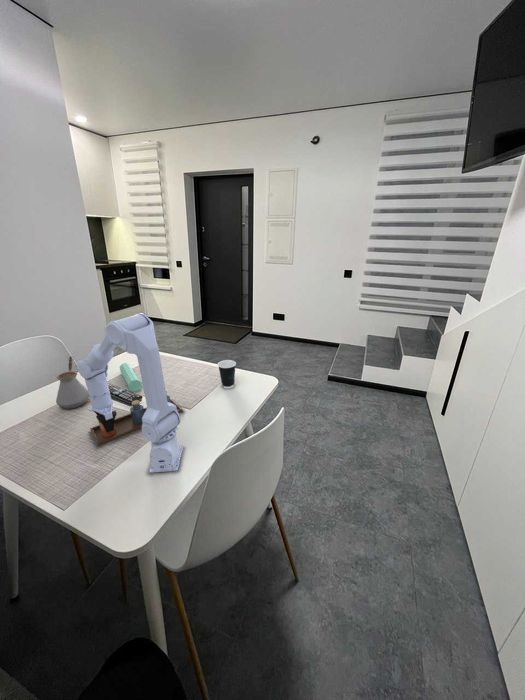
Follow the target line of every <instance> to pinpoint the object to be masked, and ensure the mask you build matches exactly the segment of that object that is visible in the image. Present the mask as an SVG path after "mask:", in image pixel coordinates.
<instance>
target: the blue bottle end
mask: <svg viewBox="0 0 525 700" xmlns="http://www.w3.org/2000/svg"><path fill="white" fill-rule="evenodd" d="M166 396H167V402H170V403H171V401H170V399H171V396H170V395H168V393H167V390H166Z"/></svg>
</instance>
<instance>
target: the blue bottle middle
mask: <svg viewBox="0 0 525 700" xmlns="http://www.w3.org/2000/svg"><path fill="white" fill-rule="evenodd" d="M140 403H141V402H140V400H138V399H135V400H132V401H131V407H130V408H129V411H130V413H131V417H132V422H133V424H135V425H139V424H142V417H143V415H144V408H145V407H144V405H142V404H140Z"/></svg>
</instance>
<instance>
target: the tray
mask: <svg viewBox="0 0 525 700" xmlns="http://www.w3.org/2000/svg"><path fill="white" fill-rule="evenodd" d="M170 401H171V403H172V404H174V405H176V408H177V411H178V413H179V414H182V413H183V412H184V410H183V408H182V407H181V406H180V405H179V404H178V402H176V401H175V400H174V399H173V398H170ZM146 410H147V406H146V407H144V413H145V411H146ZM114 423H115V427H116V433H115V434H114V435H112V436H110V437H103V436H102V433H101V429H100V426H99V424H98V425H95V426H92V427H90V428H89V430H90V432H91V434H92V437H93V439H94V440H95V441H94V442H95V443H96V445H97V447H101V446H103V445H107V444H108V443H111V442H113V441H116V440H119V439H121V438H123V437H126V436H128V435H130V434H133V433H135V432H138V431H140V430H142V424H143V423H142V424H139V425H135V424H133V422H132V417H131V412H130V413H128V414H125V415H122V416H119V417H116V418H115V420H114Z"/></svg>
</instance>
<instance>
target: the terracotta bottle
mask: <svg viewBox="0 0 525 700" xmlns="http://www.w3.org/2000/svg"><path fill="white" fill-rule="evenodd" d="M100 415H101V414H100ZM97 422H98V425H99V426H100V429H101V433H102V436H103V437H110V436H112V435H114V434H115V433H116V427H115V423H114V430H113V431H111V432H108V433H107V432H106V430H105V429H104V426H103V425H102V423H101V422H100V421H98V420H97Z"/></svg>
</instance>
